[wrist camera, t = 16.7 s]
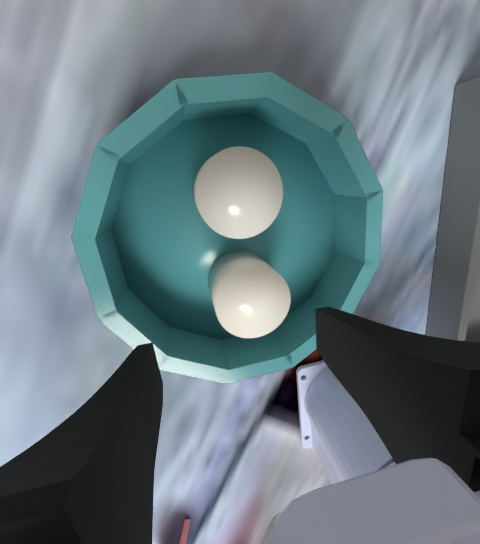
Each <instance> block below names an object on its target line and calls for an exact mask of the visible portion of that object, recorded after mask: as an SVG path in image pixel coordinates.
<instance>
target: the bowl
mask: <svg viewBox="0 0 480 544" xmlns="http://www.w3.org/2000/svg"><path fill="white" fill-rule="evenodd" d="M238 146H242V147H249V148H253V149H255V150H258V151H260V152H261V153H263V154H264V155H266V156H267V157H268V158H269V159H270V160H271V161H272V162H273V164H274V165H275V166H276V168H277V170H278V172H279V174H280V177H281V180H282V185H283V199H282V204H281V208H280V210H279V213H278V215H277V217H276V218H275V220H274V221H273V222H272V224H271V225H270V226H269V227H268V228H267V229H265V230H264V231H263V232H261V233H259V234H258V235H255V236H253V237H250V238H245V239H233V238H228V237H225V236H223V235H220V234H218V233H217V232H215V231H214V230H213V229H211V228H210V227H209V226H208V225H207V223H206V222H205V221H204V219H203V218H202V216H201V215H200V213H199V211H198V210H197V208H196V206H195V203H194V200H193V196H192V184H193V179H194V176H195V174H196V172H197V170H198V168H199V167H200V166H201V165H202V164H203V163H204V162H205V161H206V160H208V159H209V158H210V157H212V156H213V155H215V154H216V153H218V152H220V151H222V150H224V149H227V148H231V147H238ZM382 190H383V189H382V187H381V185H380V183H379V181H378V179H377V177H376V175H375V173H374V171H373V169H372V167H371V164H370V162H369V160H368V158H367V156H366V154H365V152H364V150H363V148H362V146H361V144H360V142H359V140H358V138H357V136H356V134H355V132H354V130H353V128H352V125H351V123H350V121H349V119H348V118H347V117H346V116H344V115H342V114H341V113H339V112H337V111H336V110H334V109H332V108H331V107H329V106H327V105H326V104H324V103H322V102H321V101H319V100H318V99H316V98H314V97H313V96H311V95H309V94H308V93H306V92H304V91H303V90H301V89H299V88H298V87H296V86H294V85H293V84H291V83H289V82H288V81H286V80H285V79H283V78H281V77H280V76H278V75H276V74H275V73H273V72H272V73H271V72H262V73H248V74H235V75H222V76H208V77H195V78H182V79H175V80H173V81H171V82H170V83H169V84H168V85H167V86H165V87H164V88H163V89H162V90H161V91H159V92H158V93H157V94H156V95H155V96H153V97H152V98H151V99H150V100H149V101H148V102H146V103H145V104H144V105H143V106H142V107H140V108H139V109H138V110H137V111H136V112H134V113H133V114H132V115H131V116H130V117H128V118H127V119H126V120H125V121H124V122H122V123H121V124H120V125H119V126H118V127H117V128H115V129H114V130H113V131H112V132H111V133H109V134H108V135H107V136H106V137H105V138H103V139H102V140H101V141H100V142H99V143H97V145H96V148H95V151H94V155H93V159H92V163H91V166H90V170H89V174H88V177H87V181H86V185H85V188H84V192H83V196H82V199H81V203H80V207H79V210H78V214H77V218H76V221H75V225H74V229H73V233H72V236H71V237H72V238H71V239H72V242H73V245H74V248H75V251H76V254H77V257H78V260H79V263H80V266H81V269H82V272H83V275H84V278H85V281H86V284H87V287H88V290H89V293H90V296H91V299H92V302H93V305H94V308H95V311H96V314H97V317H98V319H99V321H100V322H102V323H103V324H104V325H105V326H106V327H108V328H109V329H110V330H111V331H112V332H114V333H115V334H116V335H117V336H118V337H119V338H121V339H122V340H123V341H124V342H125V343H127V344H128V345H129V346H130V347H131V348H132V349H135V348H136V346H138V345H142V344H147V343H153V347H154V350H155V354H156V358H157V362H158V366H159V370H163V371H167V372H172V373H177V374H182V375H187V376H191V377H196V378H201V379H206V380H211V381H215V382H220V383H225V384H226V383H227V384H228V383H232V382H236V381H240V380H244V379H248V378H252V377H256V376H260V375H264V374H268V373H272V372H276V371H280V370H284V369H289V368H292V367H294V366H295V365H296V364H298V363H299V362H300V361H302V360H303V359H304V358H305V357H307V356H308V355H309V354H311V353H312V352H313V351H314V350H316V349H317V348H316V320H315V309H318V308H323V307H327V306H328V307H332V308H336V309H339V310H342V311H345V312H348V313H350V314H353V312H354V310H355V309H356V307H357V305H358V303H359V301H360V299H361V297H362V296H363V294H364V292H365V290H366V288H367V286H368V284H369V283H370V281H371V279H372V277H373V275H374V273H375V272H376V270H377V268H378V266H379V262H380V242H381V221H382V201H383V191H382ZM234 250H247V251H251V252H254V253H255V254H257V255H259V256H260V257H261V258H262V259H263V260H264V261H265V262H266V263H268V264H269V265H270V266H271V267H272V268H273V269H274V270H275V271H276V272H277V273H278V274H280V275H281V276H282V277H283V279H284V280H285V281H286V283H287V285H288V287H289V290H290V295H291V303H290V308H289V311H288V313H287V315H286V317H285V319H284V320H283V322H282V323H281V324H280V325H279V326H278V327H277V328H276V329H275V330H273V331H272V332H270V333H268V334H266V335H264V336H261V337H257V338H241V337H237V336H235V335H233V334H231V333H229V332H228V331H226V330H225V329H224V328H223V327H222V325H221V324H220V322H219V320H218V318H217V315H216V312H215V308H214V305H213V302H212V298H211V295H210V291H209V287H208V276H209V272H210V270H211V268H212V266H213V264H214V263H215V262H216V261H217V260H218V259H219V258H220V257H221V256H223V255H224V254H226V253H228V252H231V251H234Z"/></svg>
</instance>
